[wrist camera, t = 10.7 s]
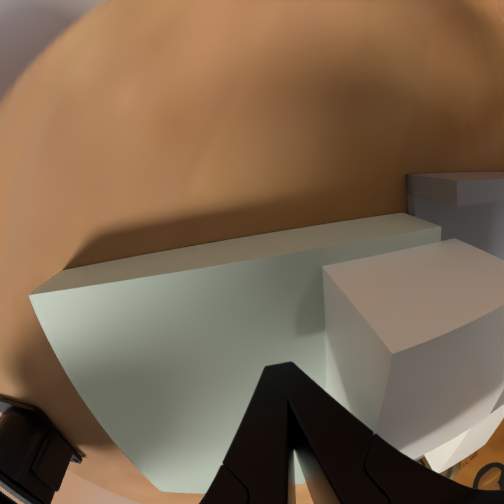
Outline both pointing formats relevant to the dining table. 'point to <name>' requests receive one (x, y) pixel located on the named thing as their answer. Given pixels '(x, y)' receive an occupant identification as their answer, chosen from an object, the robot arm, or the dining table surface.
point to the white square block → (466, 440)
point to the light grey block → (416, 341)
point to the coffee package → (485, 464)
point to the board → (201, 335)
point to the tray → (461, 207)
